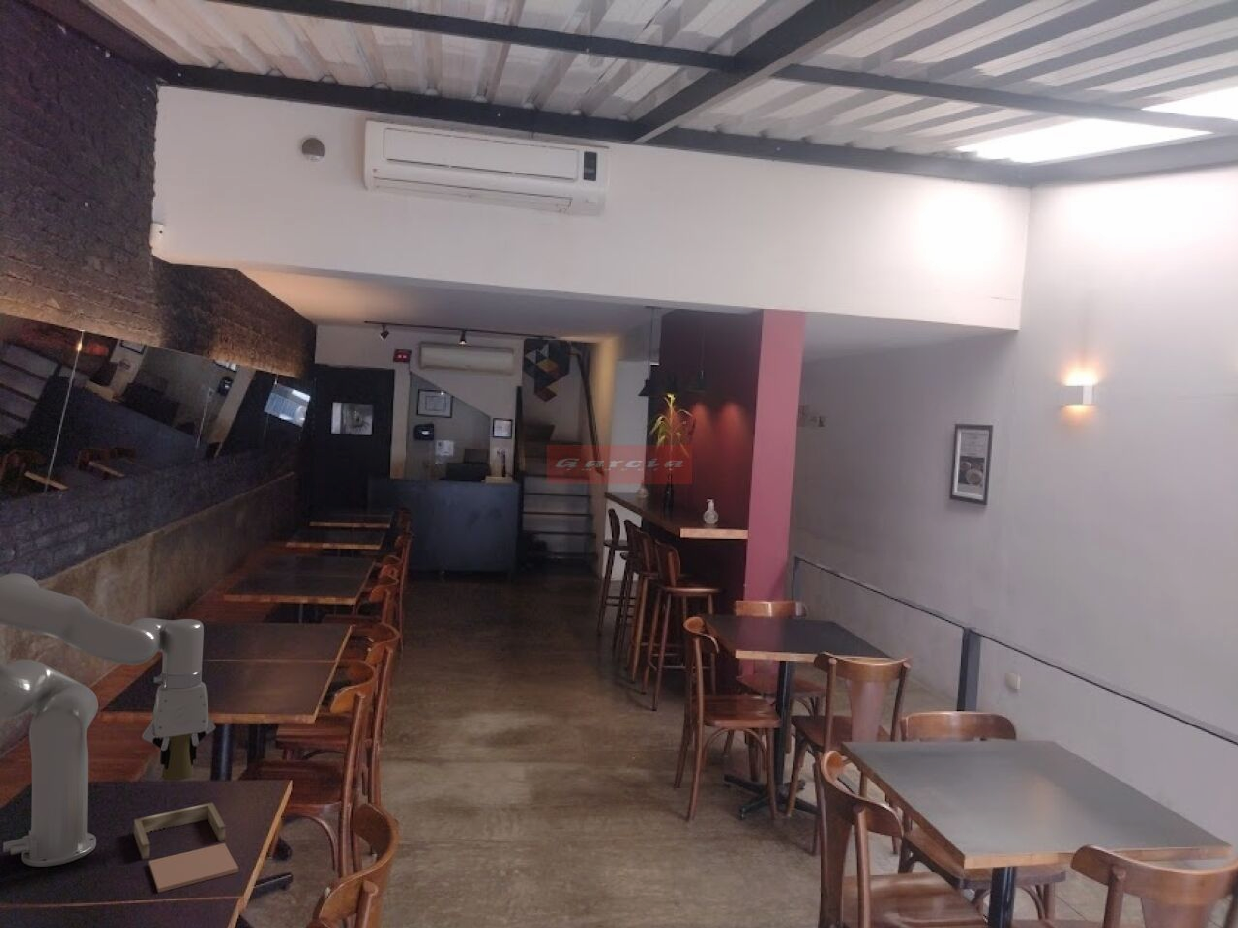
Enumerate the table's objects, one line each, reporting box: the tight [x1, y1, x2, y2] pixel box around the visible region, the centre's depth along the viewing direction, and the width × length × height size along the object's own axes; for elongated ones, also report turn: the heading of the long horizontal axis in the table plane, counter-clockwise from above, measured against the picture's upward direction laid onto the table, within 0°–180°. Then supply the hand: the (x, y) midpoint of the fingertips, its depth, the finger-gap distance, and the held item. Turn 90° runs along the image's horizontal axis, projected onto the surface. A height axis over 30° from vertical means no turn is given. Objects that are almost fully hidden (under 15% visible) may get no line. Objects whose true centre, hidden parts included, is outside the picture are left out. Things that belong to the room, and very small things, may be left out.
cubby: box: [133, 802, 226, 861], centre depth 180 cm, size 15×13×3 cm
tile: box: [148, 842, 239, 894], centre depth 167 cm, size 14×12×1 cm
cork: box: [161, 734, 195, 782], centre depth 178 cm, size 6×6×11 cm
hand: (178, 763), depth 178 cm, fingers closed on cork, 3 cm apart
